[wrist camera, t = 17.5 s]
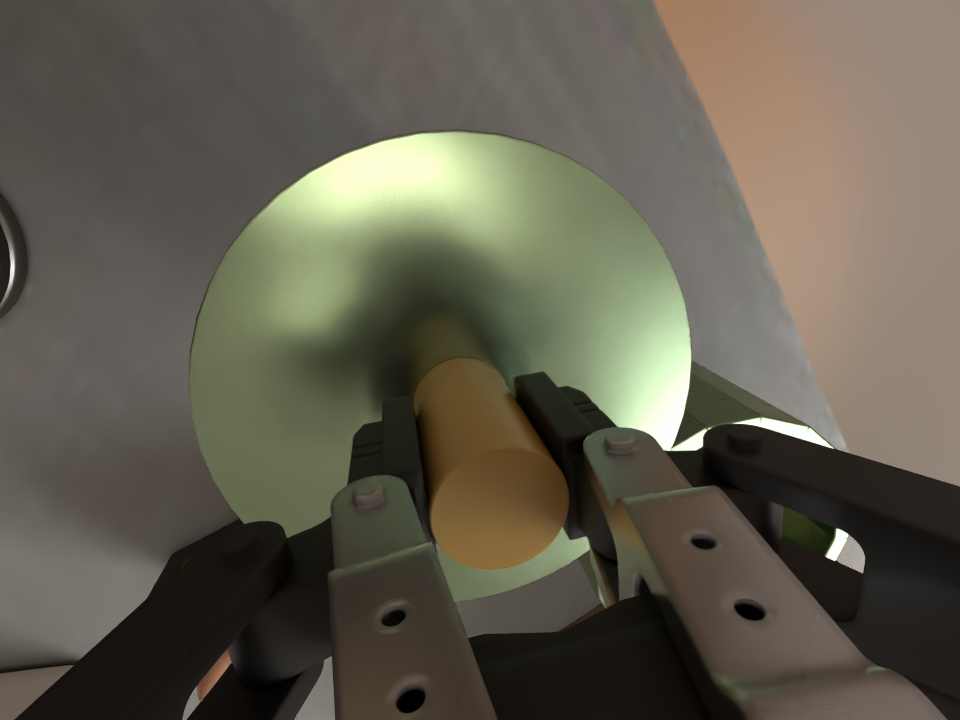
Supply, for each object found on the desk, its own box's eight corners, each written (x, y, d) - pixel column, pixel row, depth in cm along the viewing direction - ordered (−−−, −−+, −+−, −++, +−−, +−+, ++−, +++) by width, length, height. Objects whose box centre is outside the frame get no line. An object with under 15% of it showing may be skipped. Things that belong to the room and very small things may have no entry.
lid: (104, 453, 13) (-102, 644, 8) (397, 2, 11) (409, -185, 6) (494, 635, 18) (545, 841, 12) (755, 332, 16) (961, 410, 10)
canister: (490, 458, 33) (539, 589, 22) (615, 303, 31) (737, 362, 20) (624, 541, 37) (722, 686, 26) (742, 408, 35) (901, 504, 24)
